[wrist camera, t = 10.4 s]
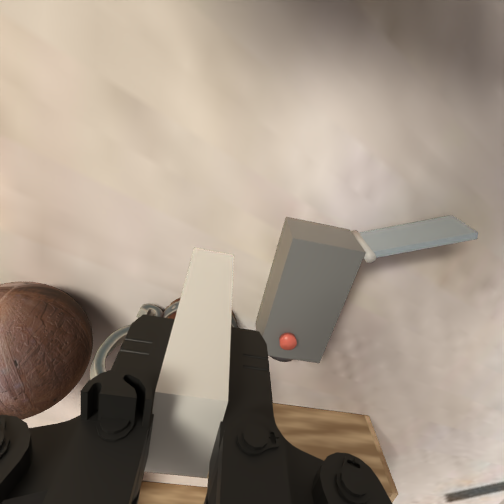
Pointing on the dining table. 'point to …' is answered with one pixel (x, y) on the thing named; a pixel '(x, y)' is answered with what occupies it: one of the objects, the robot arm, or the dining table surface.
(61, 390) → the coconut
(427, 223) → the side door
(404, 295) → the dining table surface
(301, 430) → the box
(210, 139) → the dining table surface
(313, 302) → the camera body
